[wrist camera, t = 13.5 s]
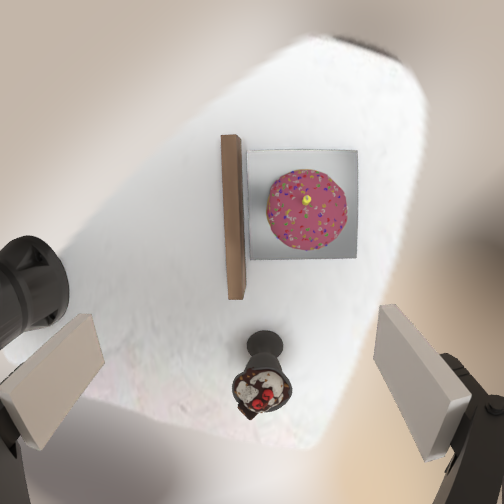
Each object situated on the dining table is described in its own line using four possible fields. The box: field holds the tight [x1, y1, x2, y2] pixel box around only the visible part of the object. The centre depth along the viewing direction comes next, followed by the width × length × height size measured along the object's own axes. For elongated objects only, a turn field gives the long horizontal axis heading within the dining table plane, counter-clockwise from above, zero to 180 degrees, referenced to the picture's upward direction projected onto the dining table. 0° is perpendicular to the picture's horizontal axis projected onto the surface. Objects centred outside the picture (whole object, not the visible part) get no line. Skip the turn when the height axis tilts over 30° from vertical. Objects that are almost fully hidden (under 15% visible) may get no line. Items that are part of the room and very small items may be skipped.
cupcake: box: [266, 169, 348, 251], centre depth 31 cm, size 9×8×12 cm
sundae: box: [232, 331, 292, 420], centre depth 35 cm, size 7×7×15 cm
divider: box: [221, 134, 246, 300], centre depth 36 cm, size 2×18×5 cm, turn 2°
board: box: [247, 150, 358, 260], centre depth 37 cm, size 13×13×1 cm
